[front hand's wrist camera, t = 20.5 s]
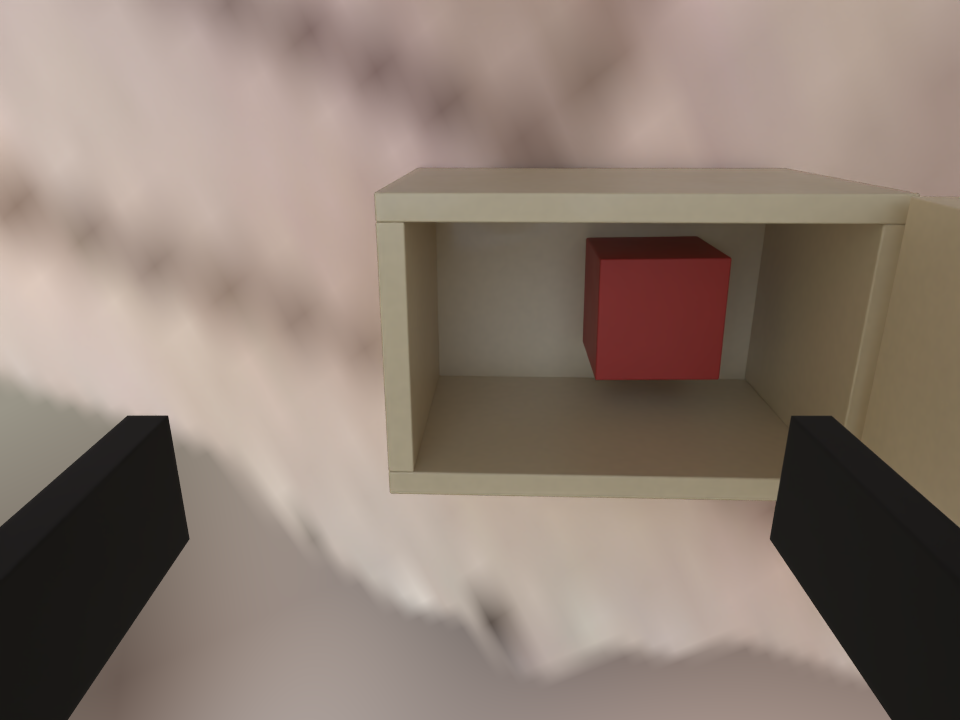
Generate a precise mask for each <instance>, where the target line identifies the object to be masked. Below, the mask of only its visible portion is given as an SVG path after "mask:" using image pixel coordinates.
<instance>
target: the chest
mask: <svg viewBox="0 0 960 720" xmlns="http://www.w3.org/2000/svg"><path fill="white" fill-rule="evenodd" d="M911 197H920V195H919V194H918V193H912V192H907V191H902V190H897V189H891V188H886V187H881V186H875V185H870V184H865V183H860V182H854V181H849V180H844V179H838V178H833V177H828V176H823V175H817V174H812V173H807V172H802V171H796V170H791V169H786V168H417V169H415V170H413V171H412V172H410V173H408V174H407V175H405V176H403V177H401V178H400V179H398V180H396V181H394V182H393V183H391V184H389V185H387V186H386V187H384V188H382V189H380V190H379V191H377V192H375V194H374V200H375V219H376V221H377V222H376V238H377V258H378V277H379V296H380V315H381V334H382V353H383V372H384V392H385V411H386V430H387V449H388V468H389V486H390V493H392V494H443V495H495V496H547V497H600V498H652V499H705V500H757V501H777V495H778V489H779V483H780V477H781V472H782V466H783V460H784V454H785V449H786V443H787V437H788V431H789V425H790V420H791V416H833V417H834V418H835V419H836V420H837V421H838V422H839V423H841V424H842V425H843V426H844V427H845V428H846V429H847V430H849V431H850V432H851V433H852V434H853V435H854V436H855V437H857V438H858V439H859V440H860V441H861V438H862V433H863V428H864V423H865V419H866V414H867V409H868V404H869V399H870V394H871V389H872V385H873V380H874V375H875V370H876V365H877V360H878V355H879V351H880V346H881V341H882V336H883V331H884V326H885V321H886V317H887V312H888V307H889V302H890V297H891V292H892V287H893V283H894V278H895V273H896V268H897V263H898V258H899V253H900V249H901V244H902V239H903V234H904V229H905V224H906V219H907V215H908V210H909V205H910V200H911ZM677 236H697V237H699V238H701V239H702V240H704V241H705V242H707V243H709V244H710V245H712V246H713V247H715V248H716V249H718V250H720V251H721V252H723V253H724V254H726V255H727V256H729V257H731V259H732V260H731V270H730V279H729V289H728V298H727V308H726V317H725V327H724V336H723V346H722V355H721V365H720V374H719V379H718V380H595V377H594V374H593V371H592V368H591V365H590V362H589V359H588V356H587V353H586V350H585V347H584V344H583V318H584V288H585V258H586V239H587V238H597V237H677Z"/></svg>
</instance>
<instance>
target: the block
mask: <svg viewBox="0 0 960 720" xmlns="http://www.w3.org/2000/svg"><path fill="white" fill-rule="evenodd" d="M731 260H732V259H731V257H729V256H727V255H726V254H724V253H723V252H721V251H720V250H718V249H716V248H715V247H713V246H712V245H710V244H709V243H707V242H705V241H704V240H702V239H701V238H699V237H697V236H677V237H597V238H587V239H586V258H585V288H584V318H583V344H584V347H585V350H586V353H587V356H588V359H589V362H590V365H591V368H592V371H593V374H594V377H595V380H718V379H719V374H720V365H721V355H722V346H723V336H724V327H725V317H726V308H727V298H728V289H729V279H730V270H731Z"/></svg>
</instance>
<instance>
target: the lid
mask: <svg viewBox="0 0 960 720" xmlns="http://www.w3.org/2000/svg"><path fill="white" fill-rule="evenodd" d="M861 442H862V443H863V444H865V445H866V446H867V447H868V448H869V449H870V450H871V451H873V452H874V453H875V454H876V455H877V456H878V457H879V458H881V459H882V460H883V461H884V462H885V463H886V464H887V465H889V466H890V467H891V468H892V469H893V470H894V471H896V472H897V473H898V474H899V475H900V476H901V477H902V478H904V479H905V480H906V481H907V482H908V483H909V484H910V485H912V486H913V487H914V488H915V489H916V490H917V491H918V492H920V493H921V494H922V495H923V496H924V497H925V498H926V499H928V500H929V501H930V502H931V503H932V504H933V505H934V506H936V507H937V508H938V509H939V510H940V511H941V512H942V513H944V514H945V515H946V516H947V517H948V518H949V519H950V520H952V521H953V522H954V523H955V524H956V525H957V526H958V527H960V197H911V200H910V205H909V210H908V215H907V219H906V224H905V229H904V234H903V239H902V244H901V249H900V253H899V258H898V263H897V268H896V273H895V278H894V283H893V287H892V292H891V297H890V302H889V307H888V312H887V317H886V321H885V326H884V331H883V336H882V341H881V346H880V351H879V355H878V360H877V365H876V370H875V375H874V380H873V385H872V389H871V394H870V399H869V404H868V409H867V414H866V419H865V423H864V428H863V433H862V438H861Z"/></svg>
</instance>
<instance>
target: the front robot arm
mask: <svg viewBox="0 0 960 720" xmlns="http://www.w3.org/2000/svg"><path fill="white" fill-rule="evenodd" d="M188 540H189V534H188V528H187V522H186V517H185V511H184V505H183V499H182V493H181V488H180V482H179V476H178V471H177V465H176V459H175V453H174V447H173V441H172V436H171V430H170V424H169V418H168V416H127V417H126V418H124V419H123V420H122V421H121V422H120V423H119V424H118V425H116V426H115V427H114V428H113V429H112V430H111V431H110V432H108V433H107V434H106V435H105V436H104V437H103V438H102V439H100V440H99V441H98V442H97V443H96V444H95V445H93V446H92V447H91V448H90V449H89V450H88V451H87V452H86V453H84V454H83V455H82V456H81V457H80V458H79V459H77V460H76V461H75V462H74V463H73V464H72V465H71V466H69V467H68V468H67V469H66V470H65V471H64V472H63V473H61V474H60V475H59V476H58V477H57V478H56V479H55V480H53V481H52V482H51V483H50V484H49V485H48V486H47V487H45V488H44V489H43V490H42V491H41V492H40V493H39V494H37V495H36V496H35V497H34V498H33V499H32V500H31V501H30V502H28V503H27V504H26V505H25V506H24V507H23V508H21V509H20V510H19V511H18V512H17V513H16V514H15V515H13V516H12V517H11V518H10V519H9V520H8V521H7V522H5V523H4V524H3V525H2V526H1V527H0V720H68V719H69V717H70V716H71V714H72V713H73V711H74V710H75V708H76V707H77V705H78V704H79V702H80V701H81V699H82V698H83V696H84V695H85V693H86V692H87V690H88V689H89V687H90V686H91V684H92V683H93V681H94V680H95V679H96V677H97V676H98V674H99V673H100V671H101V670H102V668H103V667H104V665H105V664H106V662H107V661H108V659H109V658H110V656H111V655H112V653H113V652H114V650H115V649H116V647H117V646H118V644H119V643H120V641H121V640H122V638H123V637H124V635H125V634H126V632H127V631H128V630H129V628H130V627H131V625H132V624H133V622H134V621H135V619H136V618H137V616H138V615H139V613H140V612H141V610H142V609H143V607H144V606H145V604H146V603H147V601H148V600H149V598H150V597H151V595H152V594H153V592H154V591H155V589H156V588H157V586H158V585H159V584H160V582H161V581H162V579H163V577H164V576H165V575H166V573H167V572H168V570H169V569H170V567H171V566H172V564H173V563H174V561H175V560H176V558H177V557H178V555H179V554H180V552H181V551H182V549H183V548H184V546H185V545H186V543H187V542H188ZM770 540H771V541H772V543H773V544H774V546H775V547H776V549H777V550H778V552H779V553H780V555H781V556H782V558H783V559H784V561H785V562H786V564H787V565H788V567H789V568H790V570H791V571H792V573H793V574H794V576H795V577H796V579H797V580H798V582H799V583H800V585H801V586H802V588H803V589H804V590H805V592H806V593H807V595H808V596H809V598H810V599H811V601H812V602H813V604H814V605H815V607H816V608H817V610H818V611H819V613H820V614H821V616H822V617H823V619H824V620H825V622H826V623H827V625H828V626H829V628H830V629H831V631H832V632H833V634H834V635H835V637H836V638H837V639H838V641H839V642H840V644H841V645H842V647H843V648H844V650H845V651H846V653H847V654H848V656H849V657H850V659H851V660H852V662H853V663H854V665H855V666H856V668H857V669H858V671H859V672H860V674H861V675H862V677H863V678H864V680H865V681H866V683H867V684H868V686H869V687H870V688H871V690H872V691H873V693H874V694H875V696H876V697H877V699H878V700H879V702H880V703H881V705H882V706H883V708H884V709H885V711H886V712H887V714H888V715H889V717H890V718H891V720H960V527H958V526H957V525H956V524H955V523H954V522H953V521H952V520H950V519H949V518H948V517H947V516H946V515H945V514H944V513H942V512H941V511H940V510H939V509H938V508H937V507H936V506H934V505H933V504H932V503H931V502H930V501H929V500H928V499H926V498H925V497H924V496H923V495H922V494H921V493H920V492H918V491H917V490H916V489H915V488H914V487H913V486H912V485H910V484H909V483H908V482H907V481H906V480H905V479H904V478H902V477H901V476H900V475H899V474H898V473H897V472H896V471H894V470H893V469H892V468H891V467H890V466H889V465H887V464H886V463H885V462H884V461H883V460H882V459H881V458H879V457H878V456H877V455H876V454H875V453H874V452H873V451H871V450H870V449H869V448H868V447H867V446H866V445H865V444H863V443H862V442H861V441H860V440H859V439H858V438H857V437H855V436H854V435H853V434H852V433H851V432H850V431H849V430H847V429H846V428H845V427H844V426H843V425H842V424H841V423H839V422H838V421H837V420H836V419H835V418H834V417H833V416H791V420H790V425H789V431H788V437H787V443H786V449H785V454H784V460H783V466H782V472H781V477H780V483H779V489H778V495H777V501H776V506H775V512H774V518H773V524H772V529H771V535H770Z"/></svg>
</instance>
